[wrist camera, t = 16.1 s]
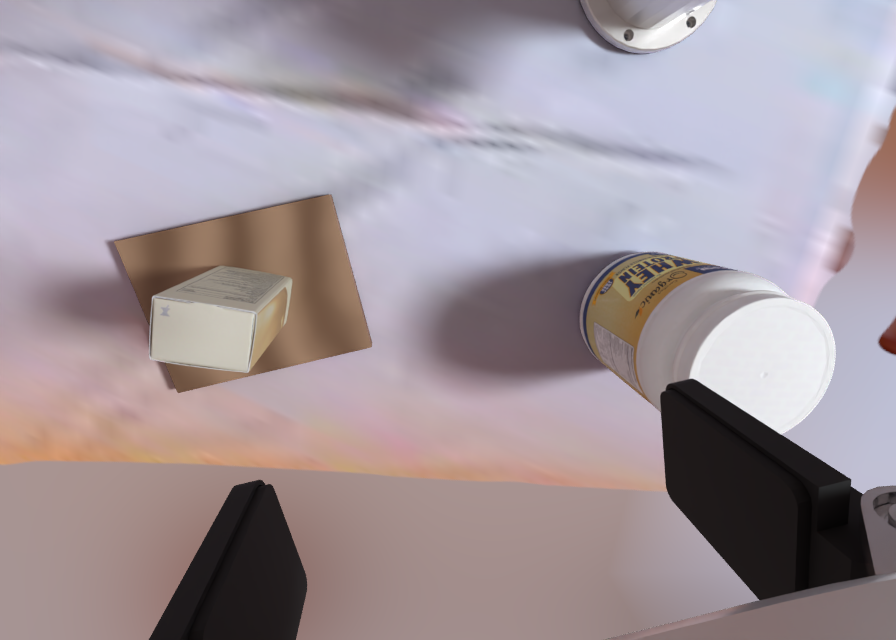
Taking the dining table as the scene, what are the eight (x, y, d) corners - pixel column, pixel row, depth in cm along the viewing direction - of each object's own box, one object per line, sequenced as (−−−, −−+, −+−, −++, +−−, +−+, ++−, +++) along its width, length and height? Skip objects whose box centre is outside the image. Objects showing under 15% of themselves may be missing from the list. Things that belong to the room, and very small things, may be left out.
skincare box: (215, 311, 40) (141, 360, 28) (219, 263, 39) (144, 293, 27) (290, 324, 41) (249, 376, 29) (297, 277, 40) (256, 312, 28)
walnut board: (331, 194, 40) (329, 194, 38) (372, 343, 44) (371, 347, 42) (122, 240, 39) (113, 241, 37) (183, 387, 43) (177, 393, 41)
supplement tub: (676, 230, 44) (842, 252, 28) (701, 340, 48) (861, 416, 31) (559, 277, 44) (657, 327, 28) (592, 384, 48) (696, 483, 31)
